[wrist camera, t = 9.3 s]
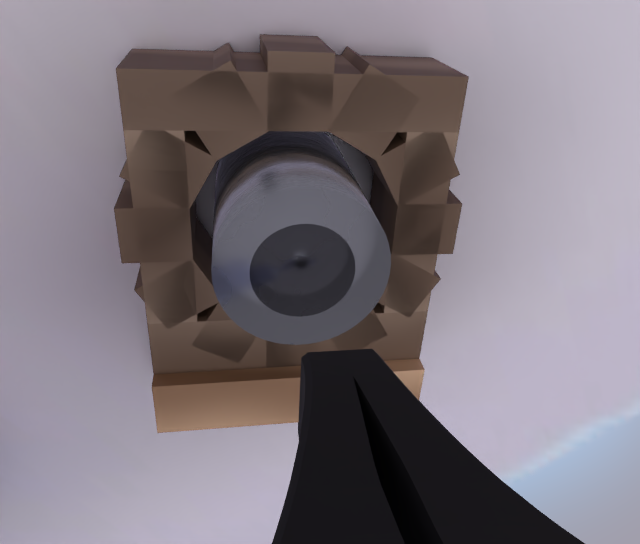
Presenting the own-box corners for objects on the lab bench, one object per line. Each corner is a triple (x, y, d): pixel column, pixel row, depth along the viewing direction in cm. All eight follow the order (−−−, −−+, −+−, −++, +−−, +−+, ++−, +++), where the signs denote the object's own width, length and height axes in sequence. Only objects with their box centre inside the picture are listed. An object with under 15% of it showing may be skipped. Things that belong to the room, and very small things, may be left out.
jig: (400, 360, 24) (427, 422, 20) (154, 374, 22) (143, 445, 19) (449, 41, 17) (500, 61, 14) (111, 29, 16) (85, 49, 13)
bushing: (346, 236, 20) (388, 335, 15) (223, 247, 20) (222, 353, 15) (346, 113, 18) (394, 180, 13) (207, 122, 17) (199, 195, 12)
